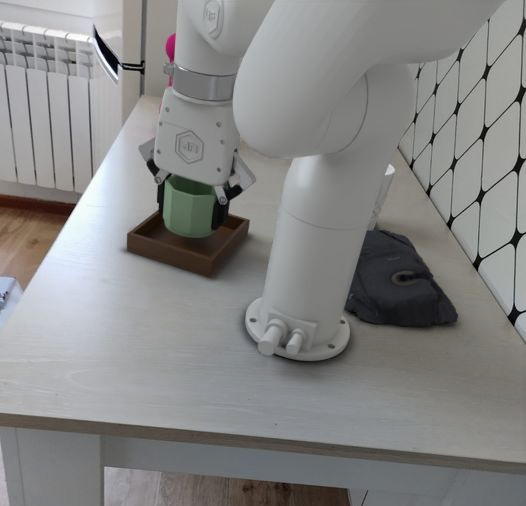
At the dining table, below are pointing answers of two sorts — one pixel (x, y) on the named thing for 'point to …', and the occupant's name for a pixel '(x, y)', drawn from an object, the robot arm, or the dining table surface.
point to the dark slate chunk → (396, 284)
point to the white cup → (381, 196)
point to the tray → (187, 244)
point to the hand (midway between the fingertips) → (191, 217)
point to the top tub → (188, 207)
